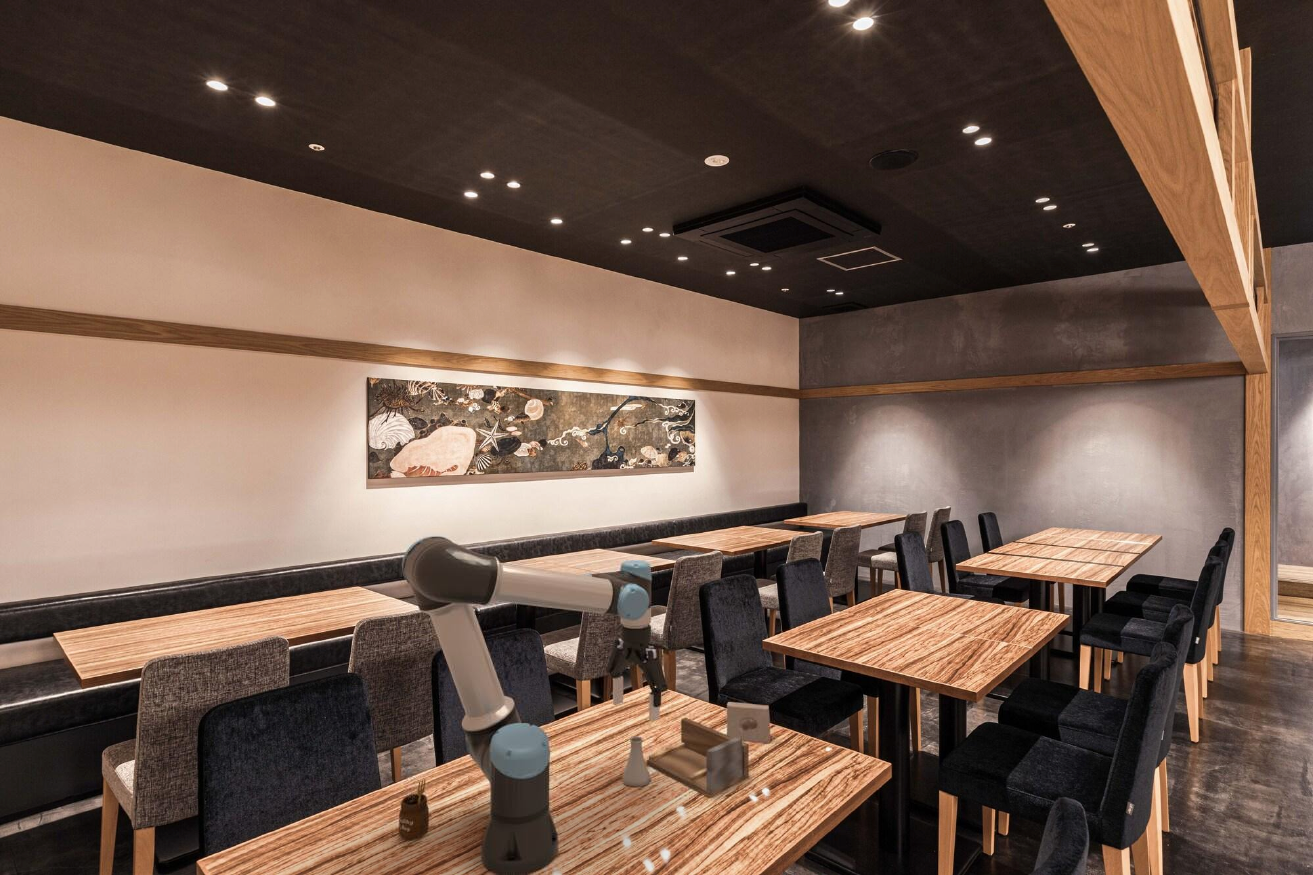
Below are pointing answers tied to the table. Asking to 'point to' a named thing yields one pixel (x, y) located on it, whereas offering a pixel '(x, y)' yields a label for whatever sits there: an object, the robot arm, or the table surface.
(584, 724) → the table surface
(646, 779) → the flask
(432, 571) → the robot arm
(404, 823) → the utensil holder
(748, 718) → the fossil
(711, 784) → the brown open box
